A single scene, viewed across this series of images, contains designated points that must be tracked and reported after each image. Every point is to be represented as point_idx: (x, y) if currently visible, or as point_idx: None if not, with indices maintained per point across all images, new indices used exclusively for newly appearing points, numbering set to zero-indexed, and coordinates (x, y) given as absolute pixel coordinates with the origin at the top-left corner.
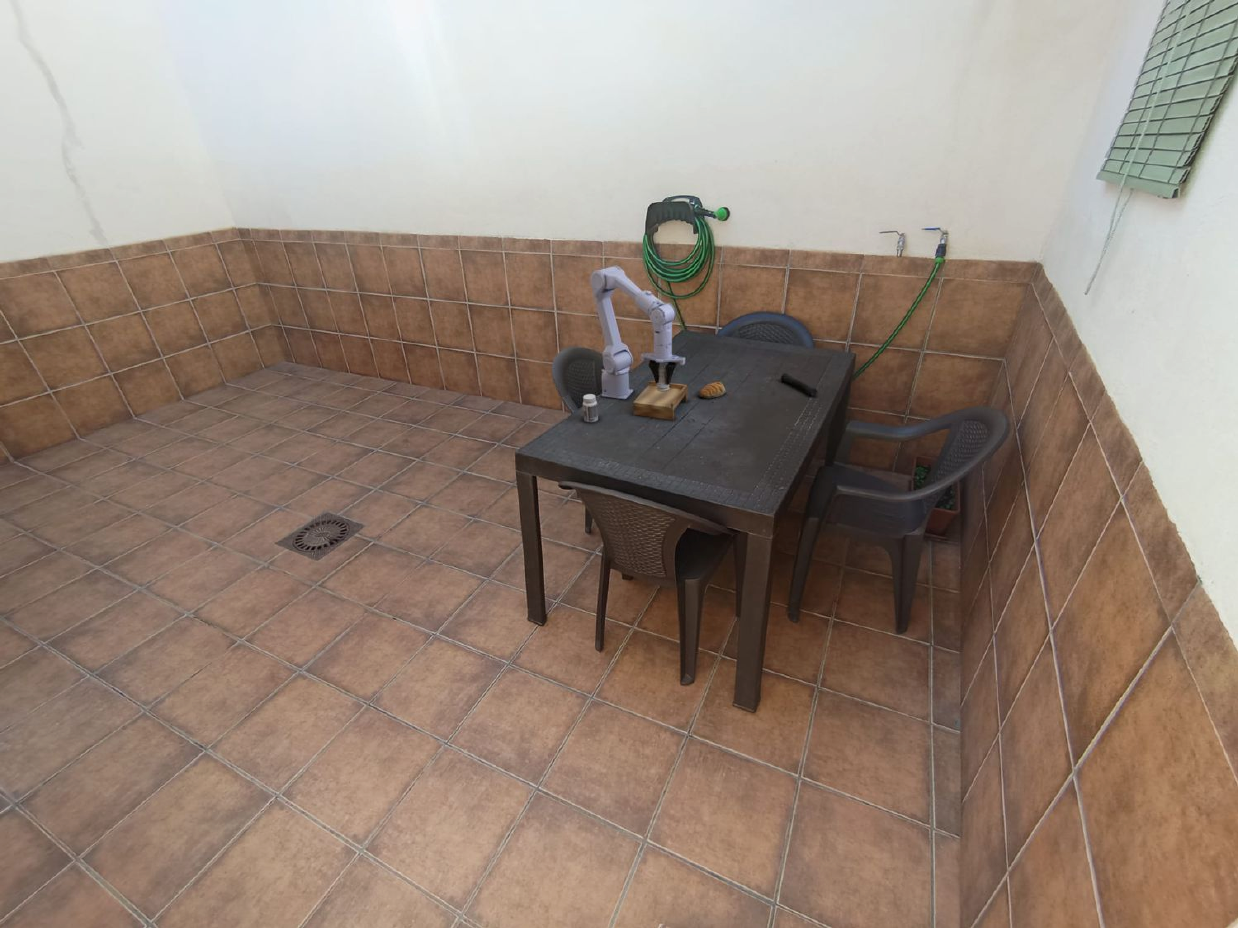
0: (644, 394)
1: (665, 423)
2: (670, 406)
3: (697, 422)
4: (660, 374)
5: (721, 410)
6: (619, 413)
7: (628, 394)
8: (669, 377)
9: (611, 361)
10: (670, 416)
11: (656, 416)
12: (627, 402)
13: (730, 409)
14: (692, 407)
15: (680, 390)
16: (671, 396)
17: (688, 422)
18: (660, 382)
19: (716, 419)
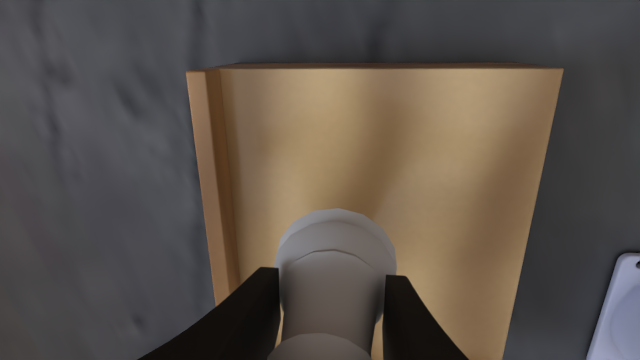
0: (495, 237)
1: (263, 2)
2: (229, 87)
3: (98, 83)
4: (338, 348)
5: (62, 253)
6: (627, 48)
7: (611, 310)
8: (209, 313)
9: None
10: (244, 64)
11: (345, 63)
12: (595, 223)
13: (33, 272)
14: (202, 251)
15: None
16: None
17: (142, 66)
18: (342, 271)
19: (31, 151)
